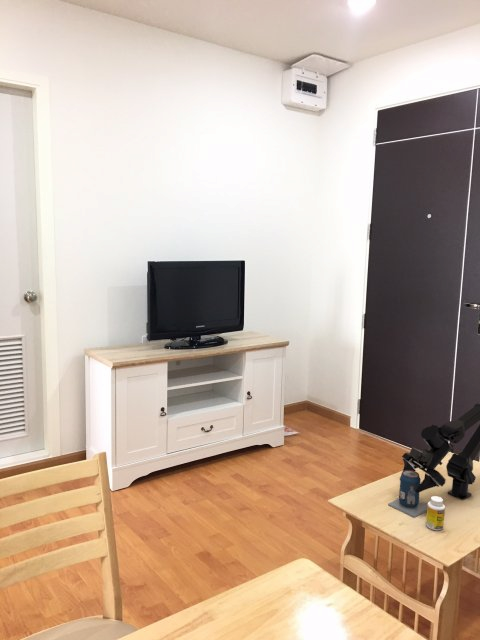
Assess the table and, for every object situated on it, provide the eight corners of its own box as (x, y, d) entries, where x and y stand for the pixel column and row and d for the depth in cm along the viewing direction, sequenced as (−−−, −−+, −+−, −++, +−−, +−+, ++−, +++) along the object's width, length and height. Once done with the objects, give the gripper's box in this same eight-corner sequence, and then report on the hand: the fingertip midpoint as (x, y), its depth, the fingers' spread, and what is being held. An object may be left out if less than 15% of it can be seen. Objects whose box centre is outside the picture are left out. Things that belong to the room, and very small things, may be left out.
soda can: (408, 498, 199) (411, 468, 197) (422, 506, 193) (425, 475, 191) (394, 501, 196) (396, 471, 194) (408, 510, 190) (410, 479, 188)
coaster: (405, 496, 202) (405, 495, 202) (431, 508, 193) (431, 506, 193) (387, 505, 195) (388, 503, 195) (414, 517, 187) (414, 516, 186)
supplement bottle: (436, 533, 177) (438, 504, 176) (422, 525, 182) (424, 497, 180) (446, 528, 180) (449, 500, 179) (432, 520, 185) (435, 493, 183)
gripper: (407, 431, 200) (380, 462, 198) (441, 450, 183) (412, 485, 181) (423, 449, 204) (397, 479, 202) (458, 469, 187) (429, 503, 185)
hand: (408, 486), depth 192 cm, fingers open, 9 cm apart
